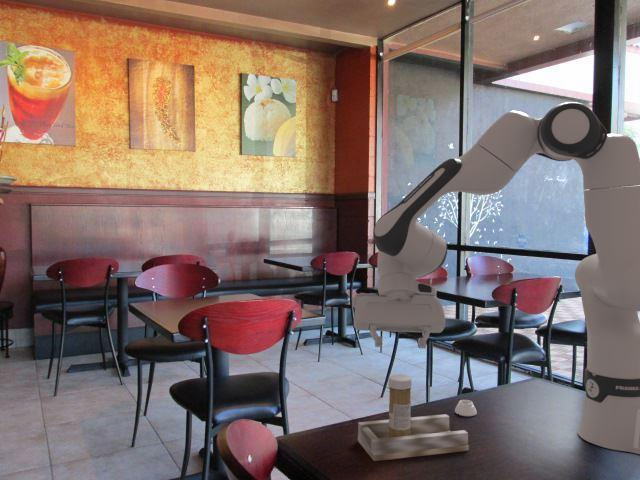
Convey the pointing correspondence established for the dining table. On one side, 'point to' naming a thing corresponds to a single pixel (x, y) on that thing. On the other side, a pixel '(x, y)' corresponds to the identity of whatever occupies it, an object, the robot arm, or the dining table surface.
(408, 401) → the sprinkles bottle
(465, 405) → the lidless jar
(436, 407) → the dining table surface
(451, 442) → the track
